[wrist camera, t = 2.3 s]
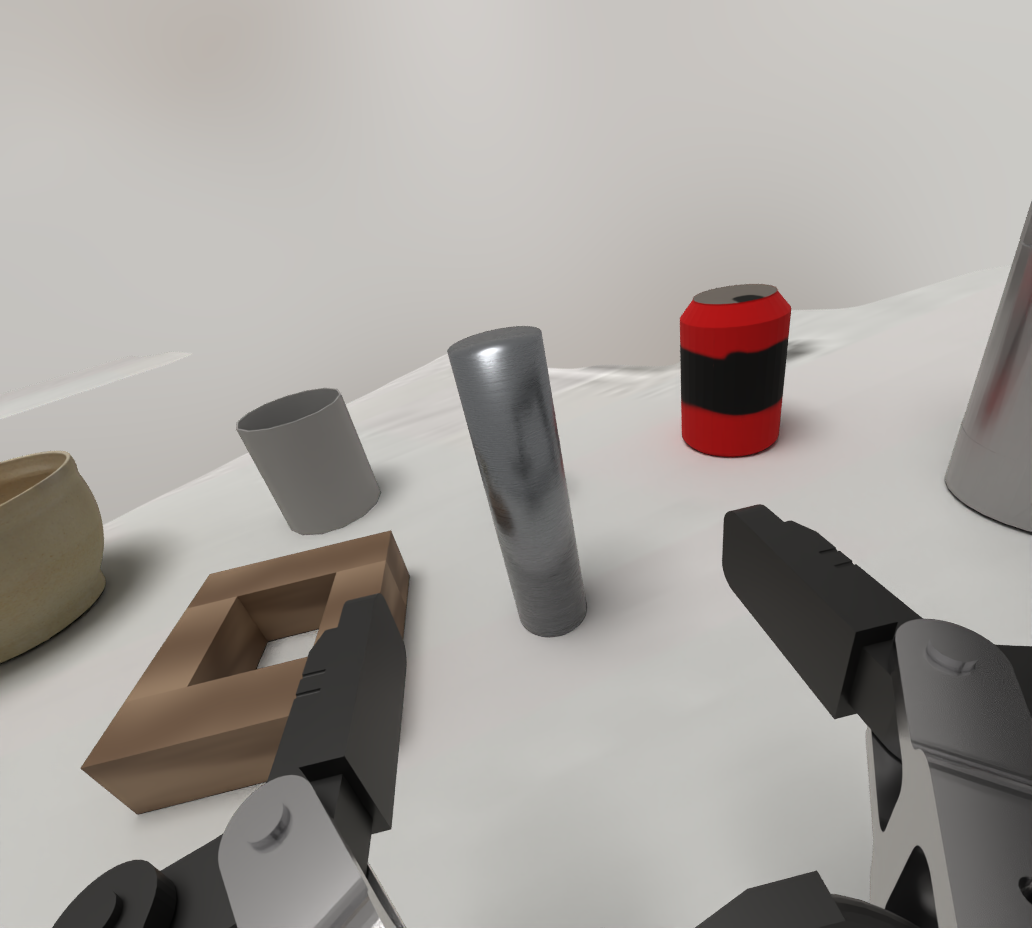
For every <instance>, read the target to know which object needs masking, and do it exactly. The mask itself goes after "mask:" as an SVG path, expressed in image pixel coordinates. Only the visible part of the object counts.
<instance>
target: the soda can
mask: <svg viewBox="0 0 1032 928" xmlns="http://www.w3.org/2000/svg"><path fill="white" fill-rule="evenodd" d="M790 316H791V306H790V305H789V304H788V303H787V301H786V300H785V299H784V298H783V297H782V295H781V294H780V293H779V292H778V290H777V288H776V287H774V286H771V285H764V284H746V285H734V286H726V287H721V288H716V289H711V290H708V291H705V292H702V293H699V294H697V295H696V296H694V298H693V300H692V302H691V303H690V304H689V306H688V307H687V309H686V310H685V311H684V313H683V315H682V316H681V317H680V353H681V413H682V437H683V439H684V440H685V442H686V443H687V444H689V445H690V446H691V447H692V448H694V449H695V450H697V451H699V452H702V453H705V454H709V455H714V456H722V457H738V456H746V455H751V454H755V453H758V452H760V451H763V450H765V449H766V448H768V447H769V446H771V445H772V444H773V443H774V442H775V441H776V440H777V438H778V436H779V427H780V417H781V407H782V397H783V387H784V377H785V367H786V357H787V347H788V336H789V326H790Z"/></svg>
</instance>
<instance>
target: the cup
mask: <svg viewBox="0 0 1032 928" xmlns="http://www.w3.org/2000/svg"><path fill="white" fill-rule="evenodd" d="M236 430H237V431H238V433H239V435H240V437H241V439H242V440H243V442H244V444H245V446H246V448H247V450H248V452H249V453H250V455H251V457H252V459H253V461H254V463H255V464H256V466H257V468H258V470H259V472H260V474H261V475H262V477H263V479H264V481H265V483H266V484H267V486H268V488H269V490H270V492H271V494H272V495H273V497H274V499H275V501H276V503H277V505H278V506H279V508H280V510H281V512H282V514H283V516H284V517H285V519H286V521H287V523H288V525H289V527H290V528H291V530H292V531H295V532H297V533H299V534H301V535H315V534H324V533H327V532H330V531H333V530H336V529H339V528H343V527H345V526H347V525H348V524H350V523H352V522H354V521H355V520H357V519H359V518H361V517H363V516H364V515H365V514H366V513H367V512H368V511H369V510H370V509H371V508H372V507H373V506H374V505H375V504H376V503H377V501H378V499H379V496H380V493H381V491H380V489H379V486H378V484H377V481H376V479H375V476H374V474H373V471H372V469H371V467H370V464H369V462H368V459H367V457H366V454H365V452H364V449H363V447H362V444H361V442H360V439H359V437H358V434H357V432H356V430H355V427H354V425H353V422H352V420H351V417H350V415H349V412H348V410H347V407H346V405H345V402H344V400H343V397H342V395H341V393H340V392H339V390H338V389H332V388H321V389H314V390H307V391H303V392H299V393H296V394H292V395H288V396H285V397H283V398H280V399H277V400H275V401H272V402H269V403H267V404H264V405H263V406H260V407H259V408H257V409H255V410H253V411H251V412H249V413H247V414H246V415H245V416H244V417H242V418H241V419H240V420H239V421H238V422H237V424H236Z"/></svg>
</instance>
